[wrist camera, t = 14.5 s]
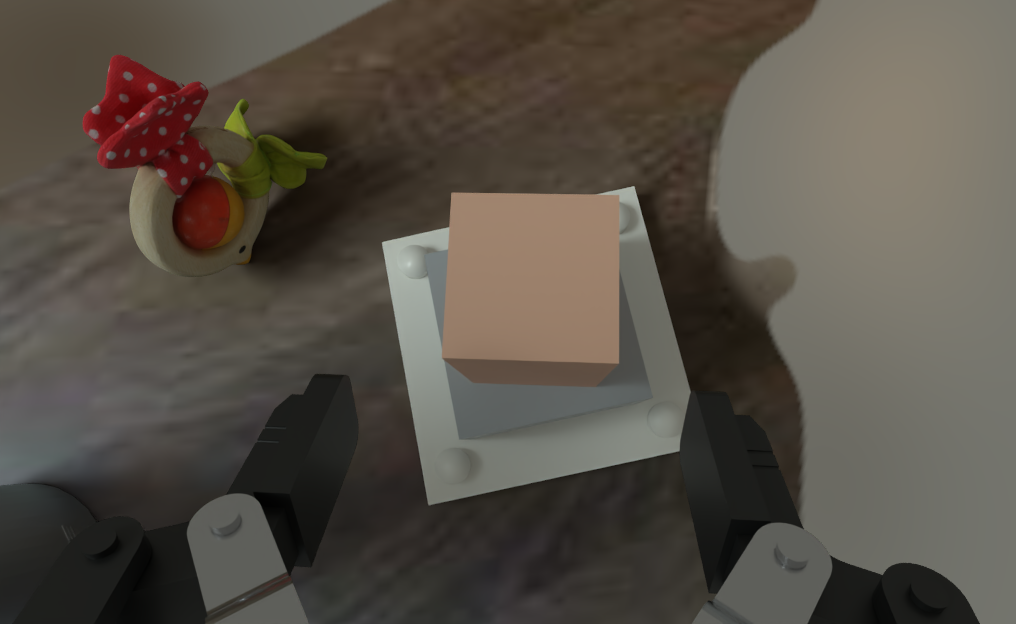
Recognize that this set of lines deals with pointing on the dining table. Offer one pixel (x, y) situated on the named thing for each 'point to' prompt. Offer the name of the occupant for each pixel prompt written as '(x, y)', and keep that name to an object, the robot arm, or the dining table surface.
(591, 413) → the baseplate
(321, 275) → the dining table surface
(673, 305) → the dining table surface
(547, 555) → the dining table surface
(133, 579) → the robot arm
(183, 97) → the bird rattle
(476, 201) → the tall brick
